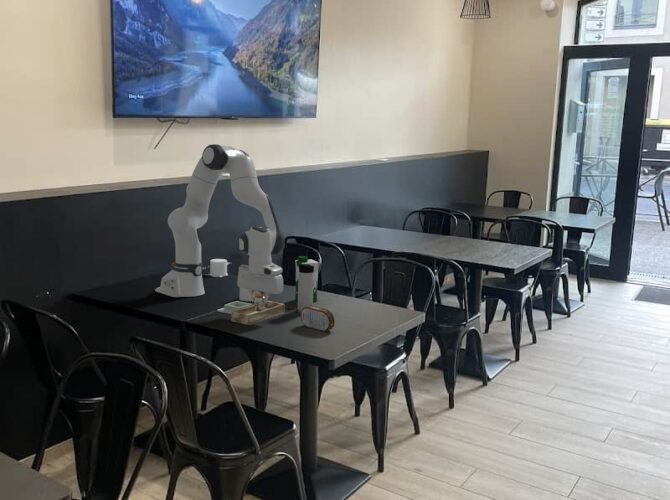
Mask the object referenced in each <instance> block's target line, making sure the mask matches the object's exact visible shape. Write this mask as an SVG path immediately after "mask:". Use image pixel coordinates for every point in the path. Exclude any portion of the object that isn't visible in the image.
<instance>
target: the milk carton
mask: <svg viewBox="0 0 670 500" xmlns="http://www.w3.org/2000/svg"><path fill="white" fill-rule="evenodd" d="M308 257H309V256H306V255H305V256H304V255H300V256H299V255H298V256H297V259H296V260H295V259H294V260H295V297H294V299H295V301H297V302H298V276H299V264H309V265H311V266H314V288H313V303H317V302H318V281H319V280H318V278H319V276H318V274H319V267H320V266H319V265H320V264H319V262H318V261H316V260H314V259H308Z"/></svg>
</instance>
